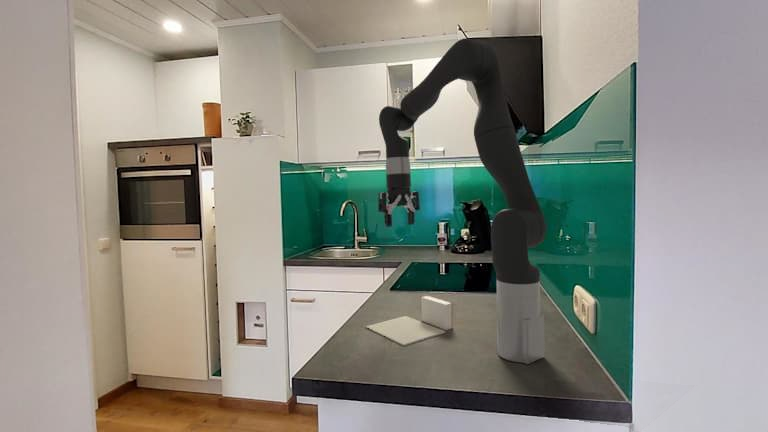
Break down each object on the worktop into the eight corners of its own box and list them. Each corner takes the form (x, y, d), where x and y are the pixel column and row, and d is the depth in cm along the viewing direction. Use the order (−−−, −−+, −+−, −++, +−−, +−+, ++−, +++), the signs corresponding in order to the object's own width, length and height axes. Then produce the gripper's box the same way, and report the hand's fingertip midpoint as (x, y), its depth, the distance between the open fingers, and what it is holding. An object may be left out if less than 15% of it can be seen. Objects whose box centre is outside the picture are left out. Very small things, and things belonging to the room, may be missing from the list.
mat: (445, 332, 106) (445, 331, 106) (403, 346, 98) (403, 344, 98) (405, 317, 120) (405, 315, 120) (366, 327, 112) (366, 326, 112)
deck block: (452, 328, 110) (452, 302, 109) (446, 330, 108) (445, 304, 108) (428, 319, 118) (427, 295, 117) (421, 320, 116) (421, 297, 116)
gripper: (386, 172, 116) (388, 228, 116) (423, 172, 124) (425, 224, 125) (372, 173, 122) (374, 226, 123) (408, 173, 130) (410, 223, 131)
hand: (400, 225), depth 124 cm, fingers open, 8 cm apart
